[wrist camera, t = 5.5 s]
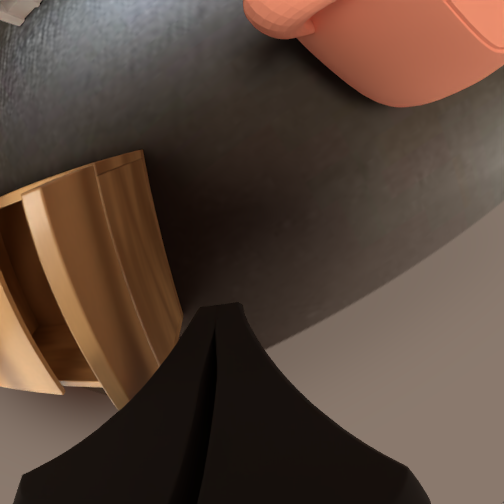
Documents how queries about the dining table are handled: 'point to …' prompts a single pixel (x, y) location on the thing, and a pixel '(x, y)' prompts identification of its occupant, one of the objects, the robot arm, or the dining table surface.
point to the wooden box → (42, 298)
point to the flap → (89, 281)
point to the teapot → (393, 42)
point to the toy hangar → (16, 10)
